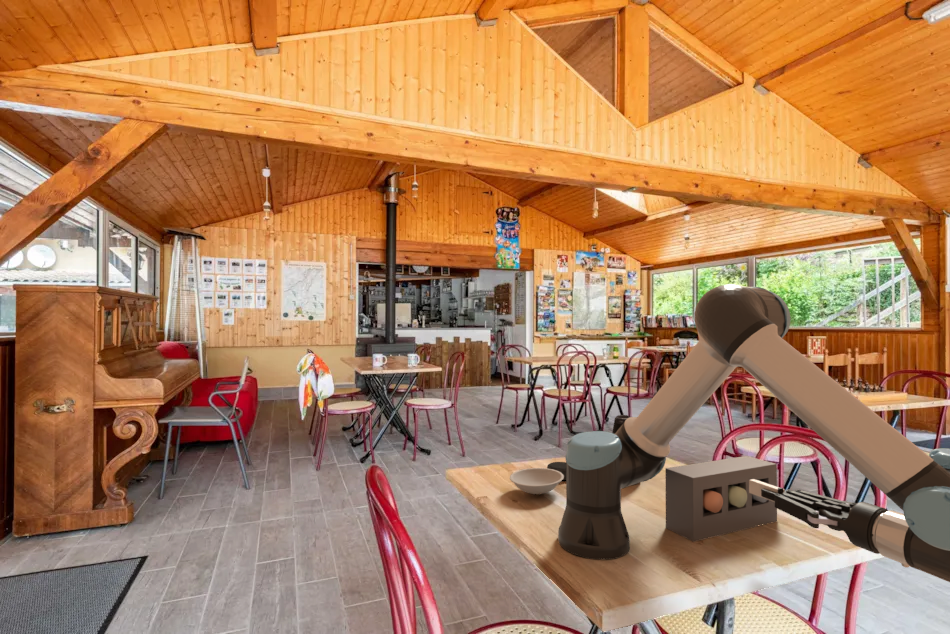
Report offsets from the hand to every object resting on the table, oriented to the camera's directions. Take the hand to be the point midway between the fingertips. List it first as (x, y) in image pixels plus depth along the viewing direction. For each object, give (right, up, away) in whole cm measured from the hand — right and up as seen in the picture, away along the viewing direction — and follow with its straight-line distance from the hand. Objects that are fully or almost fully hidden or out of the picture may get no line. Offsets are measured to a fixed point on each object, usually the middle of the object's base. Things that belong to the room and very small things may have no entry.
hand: (751, 485), depth 101 cm
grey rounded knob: (+10, -9, +16) cm, 21 cm away
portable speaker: (-11, -15, +48) cm, 51 cm away
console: (+1, -15, +15) cm, 21 cm away
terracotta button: (-5, -9, +10) cm, 14 cm away
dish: (-41, -15, +36) cm, 56 cm away
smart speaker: (-31, -16, +51) cm, 61 cm away
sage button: (+2, -9, +13) cm, 16 cm away
